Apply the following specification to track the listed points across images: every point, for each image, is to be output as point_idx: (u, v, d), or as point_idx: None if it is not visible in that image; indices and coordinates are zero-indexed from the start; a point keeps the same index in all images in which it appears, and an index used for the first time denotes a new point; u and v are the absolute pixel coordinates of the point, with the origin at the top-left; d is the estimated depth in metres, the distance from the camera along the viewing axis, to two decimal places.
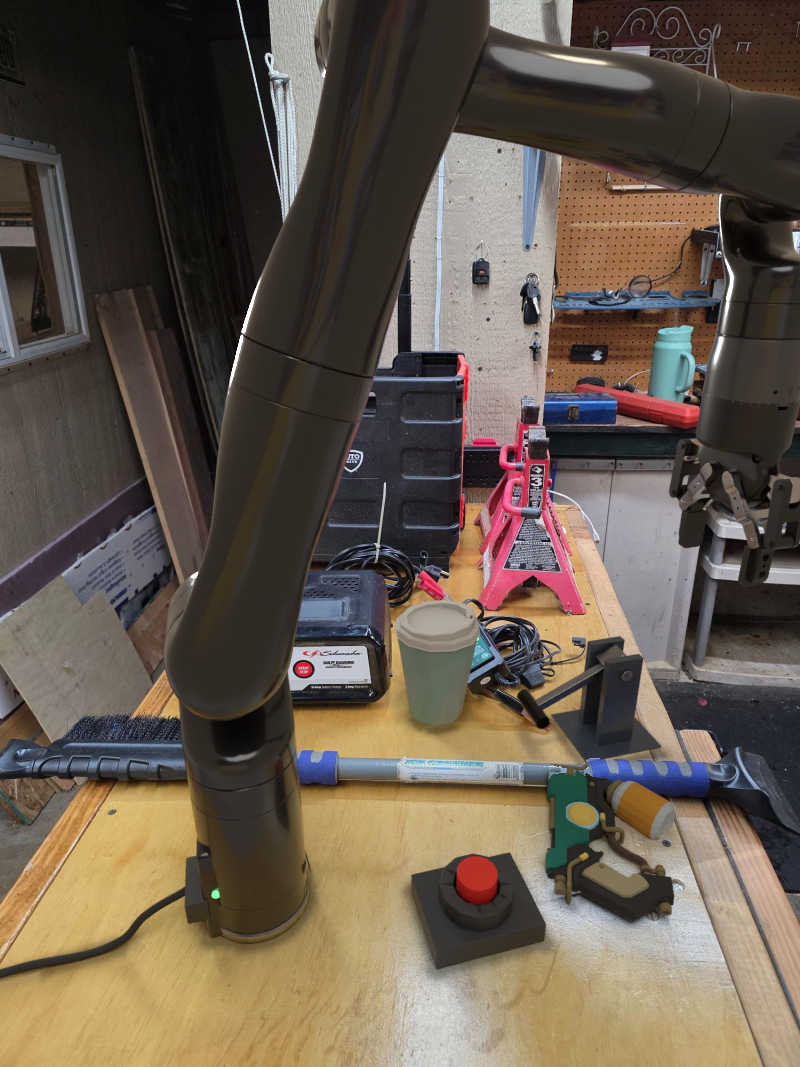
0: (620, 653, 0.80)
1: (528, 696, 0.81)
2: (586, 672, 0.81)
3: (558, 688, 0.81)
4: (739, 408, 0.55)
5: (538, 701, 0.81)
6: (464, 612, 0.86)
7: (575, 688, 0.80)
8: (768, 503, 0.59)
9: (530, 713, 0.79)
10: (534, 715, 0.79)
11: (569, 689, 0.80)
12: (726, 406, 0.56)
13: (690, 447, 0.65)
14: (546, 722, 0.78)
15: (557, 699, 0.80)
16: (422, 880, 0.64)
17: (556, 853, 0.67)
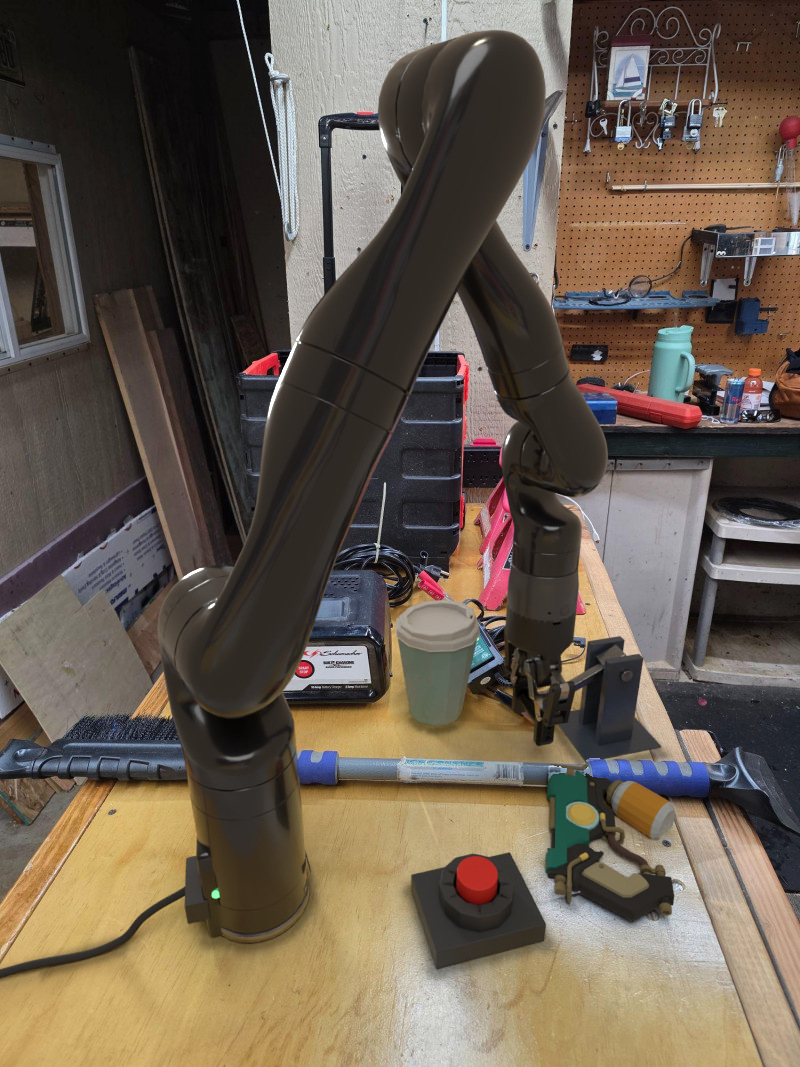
0: (620, 653, 0.80)
1: (528, 696, 0.81)
2: (586, 672, 0.81)
3: None
4: (525, 621, 0.73)
5: None
6: (464, 612, 0.86)
7: None
8: None
9: (530, 713, 0.79)
10: (534, 715, 0.79)
11: None
12: (517, 618, 0.73)
13: None
14: None
15: None
16: (422, 880, 0.64)
17: (556, 853, 0.67)
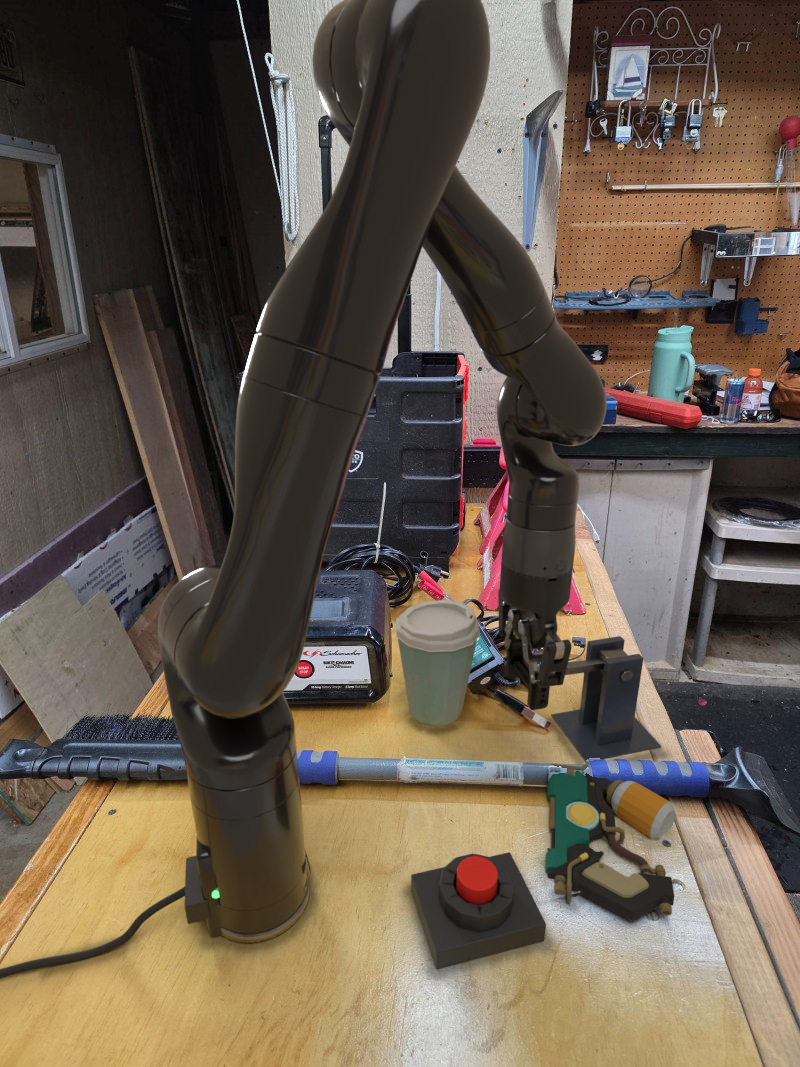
0: (625, 655, 0.80)
1: (526, 662, 0.79)
2: (587, 661, 0.80)
3: None
4: (520, 578, 0.70)
5: None
6: (464, 612, 0.86)
7: (573, 671, 0.79)
8: None
9: (526, 676, 0.77)
10: None
11: (567, 669, 0.79)
12: (512, 575, 0.71)
13: None
14: None
15: None
16: (422, 880, 0.64)
17: (556, 853, 0.67)
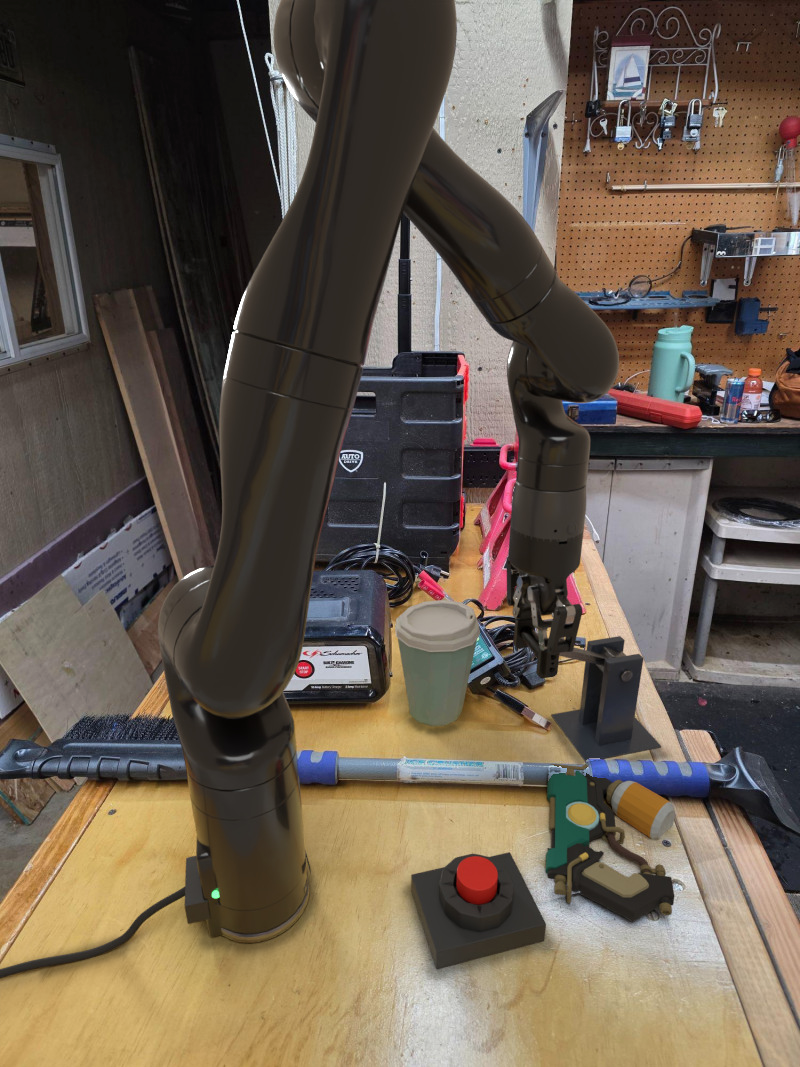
0: None
1: (536, 633, 0.78)
2: (591, 652, 0.80)
3: None
4: (530, 541, 0.69)
5: None
6: (464, 612, 0.86)
7: (577, 656, 0.79)
8: None
9: (537, 644, 0.76)
10: None
11: (573, 652, 0.78)
12: (521, 538, 0.70)
13: None
14: None
15: None
16: (422, 880, 0.64)
17: (556, 853, 0.67)
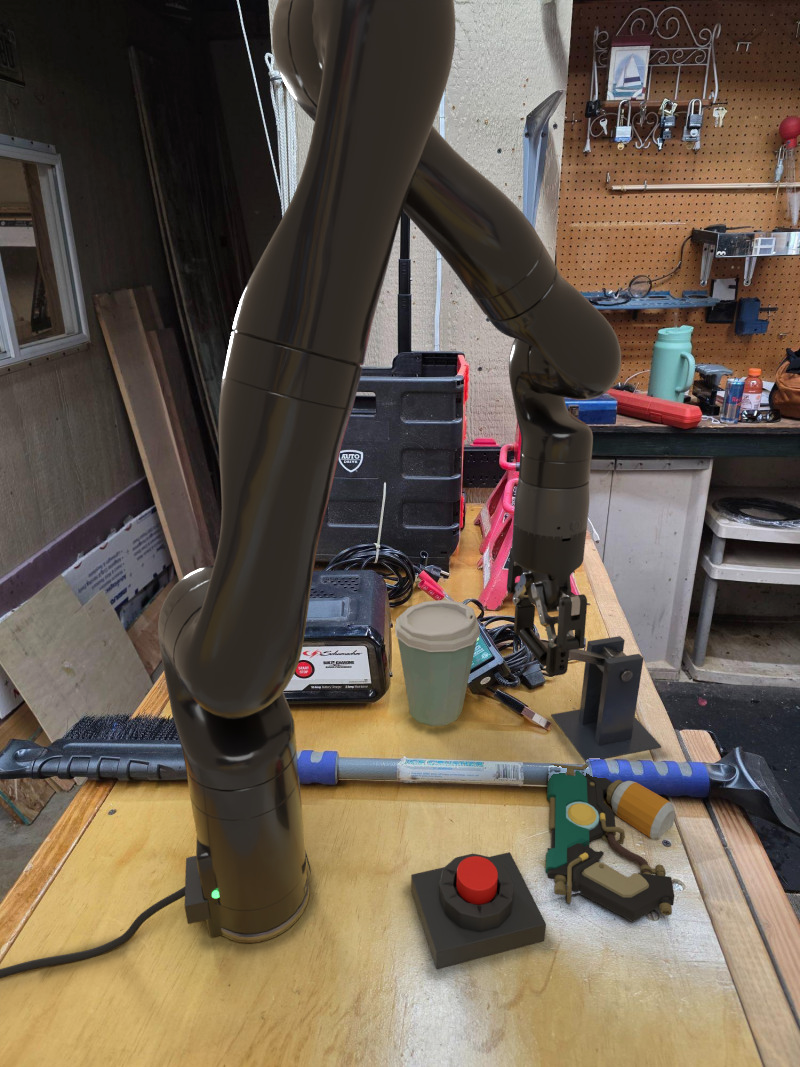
0: None
1: (535, 634, 0.78)
2: (591, 652, 0.80)
3: None
4: (533, 538, 0.69)
5: (544, 643, 0.78)
6: (464, 612, 0.86)
7: (577, 657, 0.79)
8: None
9: (536, 645, 0.76)
10: (541, 647, 0.75)
11: (573, 653, 0.78)
12: (524, 535, 0.70)
13: None
14: None
15: None
16: (422, 880, 0.64)
17: (556, 853, 0.67)
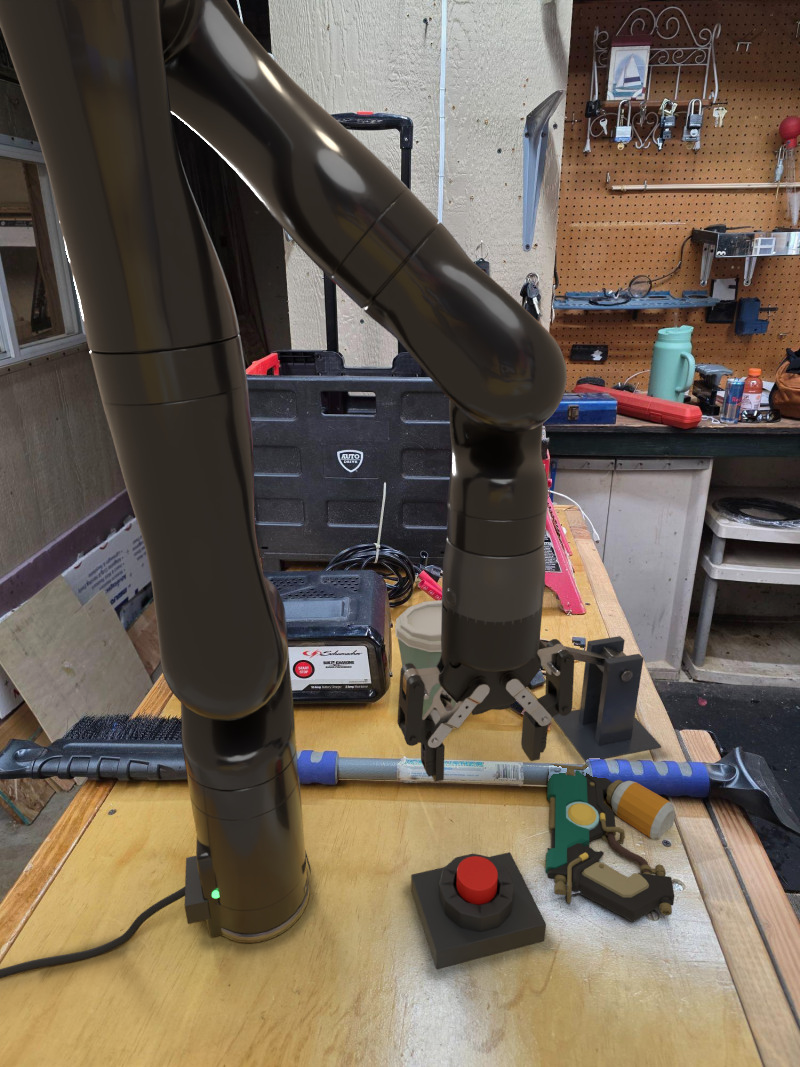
0: None
1: None
2: (591, 652, 0.80)
3: (564, 646, 0.79)
4: None
5: (544, 643, 0.78)
6: None
7: (577, 657, 0.79)
8: None
9: None
10: (541, 647, 0.75)
11: (573, 653, 0.78)
12: None
13: None
14: None
15: None
16: (422, 880, 0.64)
17: (556, 853, 0.67)
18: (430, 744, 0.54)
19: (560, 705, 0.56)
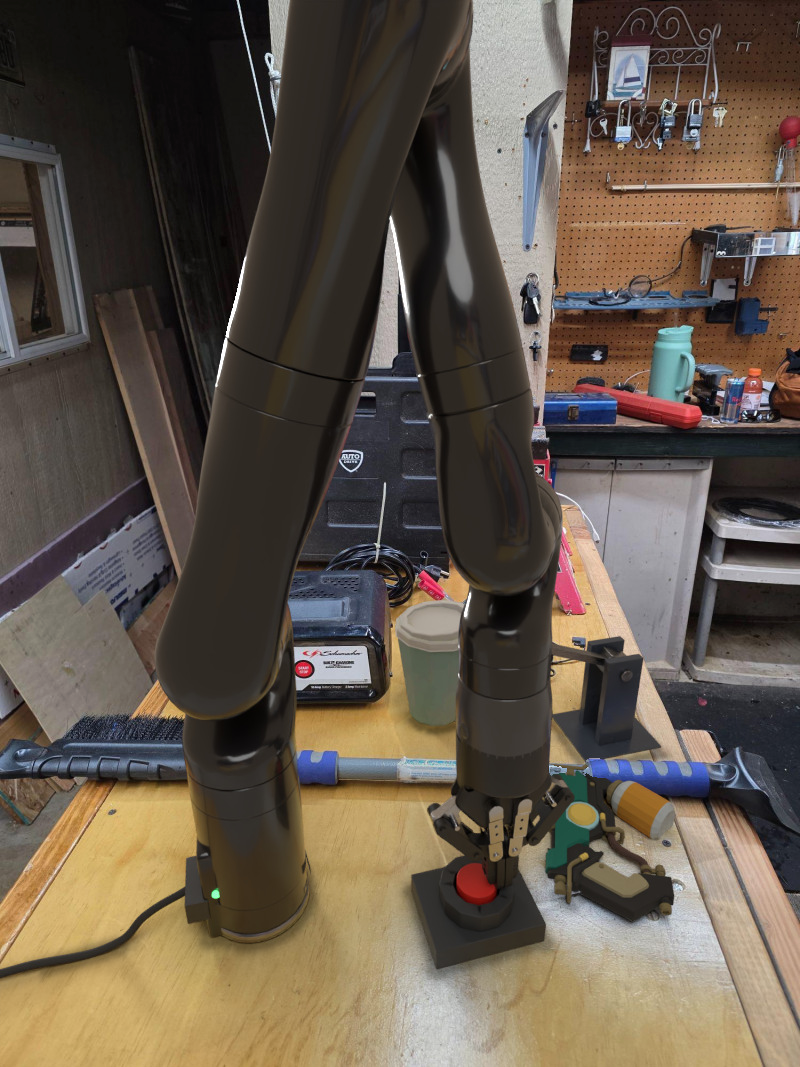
0: None
1: None
2: (591, 652, 0.80)
3: (564, 646, 0.79)
4: None
5: None
6: None
7: (577, 657, 0.79)
8: None
9: None
10: None
11: (573, 653, 0.78)
12: None
13: None
14: None
15: (559, 654, 0.78)
16: (422, 880, 0.64)
17: (556, 853, 0.67)
18: (492, 858, 0.58)
19: (529, 837, 0.59)
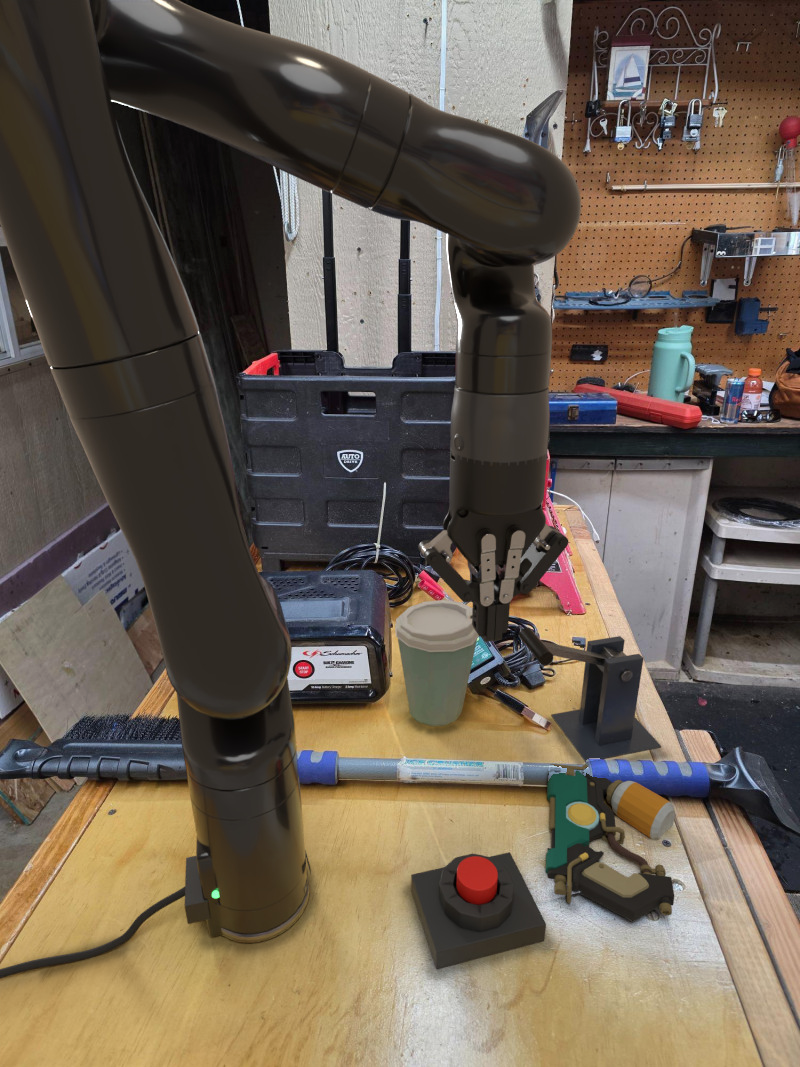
0: None
1: (535, 634, 0.78)
2: (591, 652, 0.80)
3: (564, 646, 0.79)
4: None
5: (544, 643, 0.78)
6: (464, 612, 0.86)
7: (577, 657, 0.79)
8: None
9: (536, 645, 0.76)
10: (541, 647, 0.75)
11: (573, 653, 0.78)
12: None
13: None
14: (548, 660, 0.75)
15: (559, 654, 0.78)
16: (422, 880, 0.64)
17: (556, 853, 0.67)
18: (483, 602, 0.57)
19: (521, 583, 0.58)
